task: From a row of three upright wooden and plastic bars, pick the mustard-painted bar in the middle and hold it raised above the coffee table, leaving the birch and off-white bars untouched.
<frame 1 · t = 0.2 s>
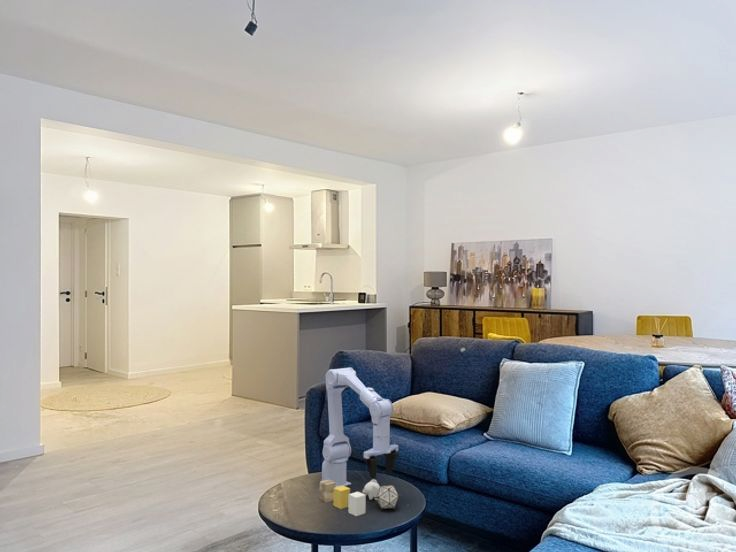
hand: (381, 475, 193), 10 cm above the table, fingers open, 7 cm apart
game die: (387, 509, 190), on the table
off-white bar: (356, 512, 186), on the table
birch bar: (327, 499, 198), on the table
elephant figurine: (372, 499, 199), on the table
mustard bar: (341, 506, 192), on the table
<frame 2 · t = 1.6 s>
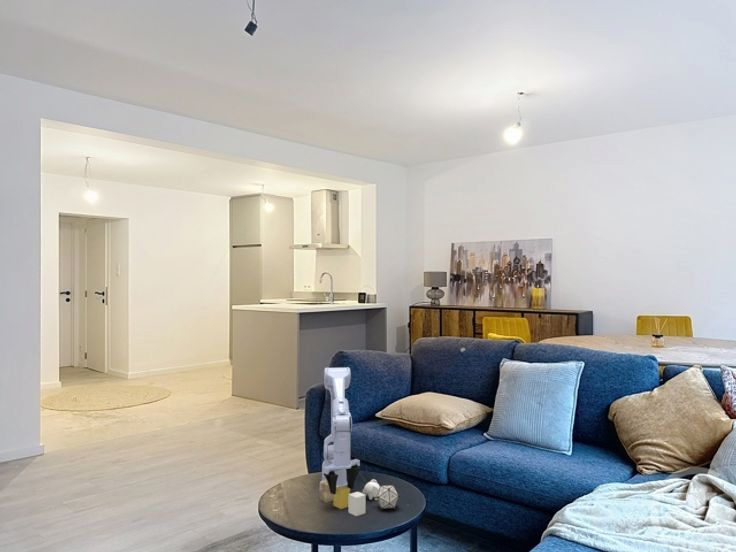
hand: (341, 490, 192), 5 cm above the table, fingers open, 7 cm apart
nothing on the table moved.
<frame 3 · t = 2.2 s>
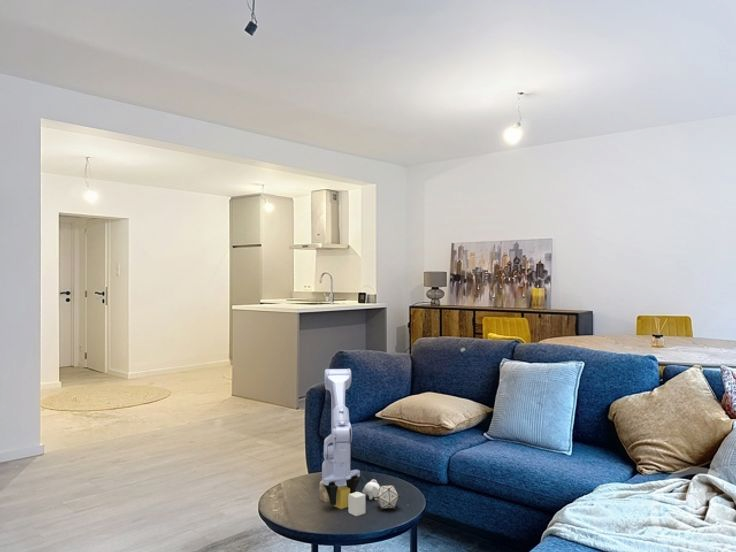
hand: (341, 501, 192), 1 cm above the table, fingers open, 7 cm apart
nothing on the table moved.
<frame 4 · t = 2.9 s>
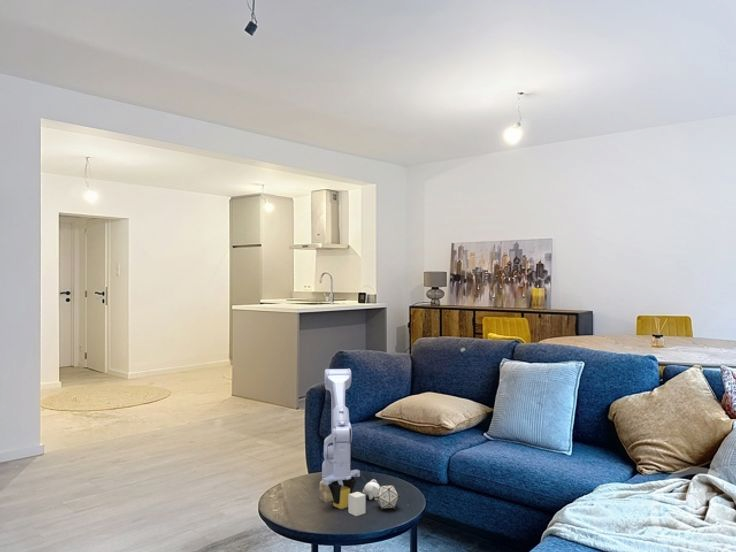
hand: (341, 501, 192), 1 cm above the table, fingers closed on mustard bar, 4 cm apart
mustard bar: (341, 505, 192), on the table, touching gripper
everything else where it was.
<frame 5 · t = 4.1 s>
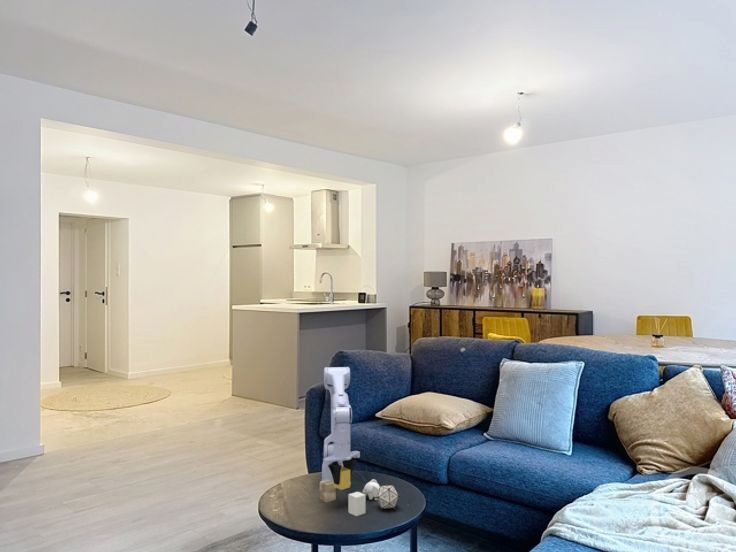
hand: (341, 482, 192), 8 cm above the table, fingers closed on mustard bar, 4 cm apart
mustard bar: (341, 487, 192), point 6 cm above the table, touching gripper
everything else where it was.
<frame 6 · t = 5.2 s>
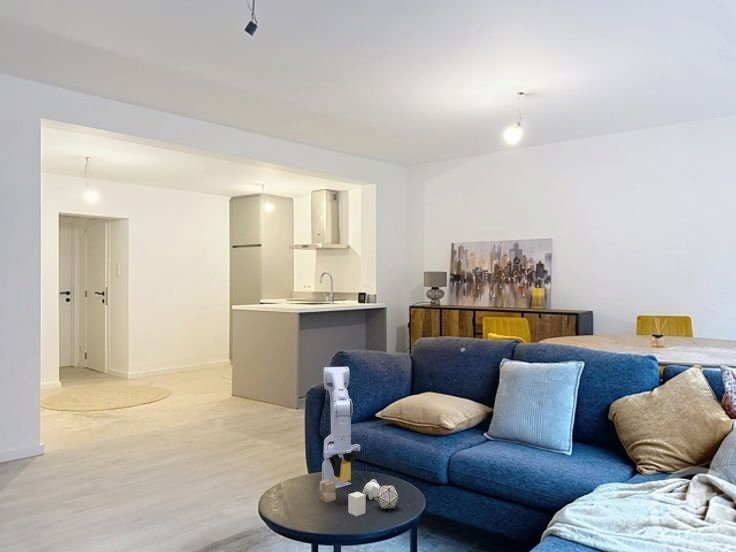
hand: (342, 475, 194), 10 cm above the table, fingers closed on mustard bar, 4 cm apart
mustard bar: (342, 479, 194), point 8 cm above the table, touching gripper
everything else where it was.
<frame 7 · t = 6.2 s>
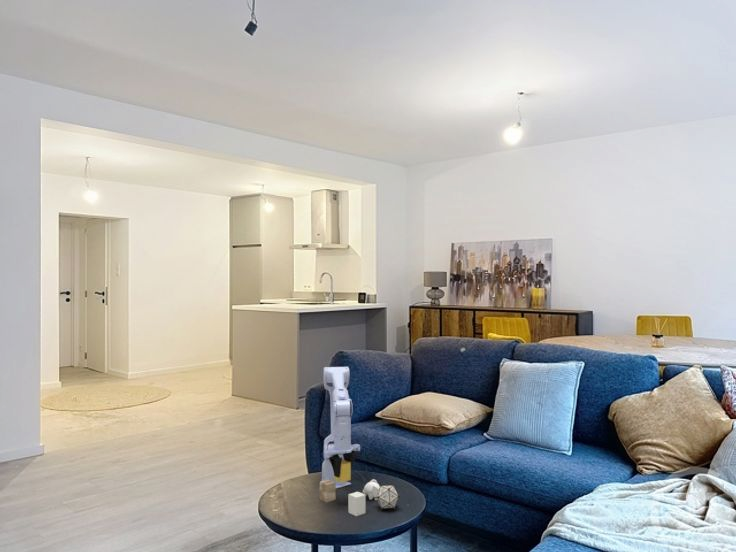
hand: (342, 475, 194), 10 cm above the table, fingers closed on mustard bar, 4 cm apart
mustard bar: (342, 479, 194), point 8 cm above the table, touching gripper
everything else where it was.
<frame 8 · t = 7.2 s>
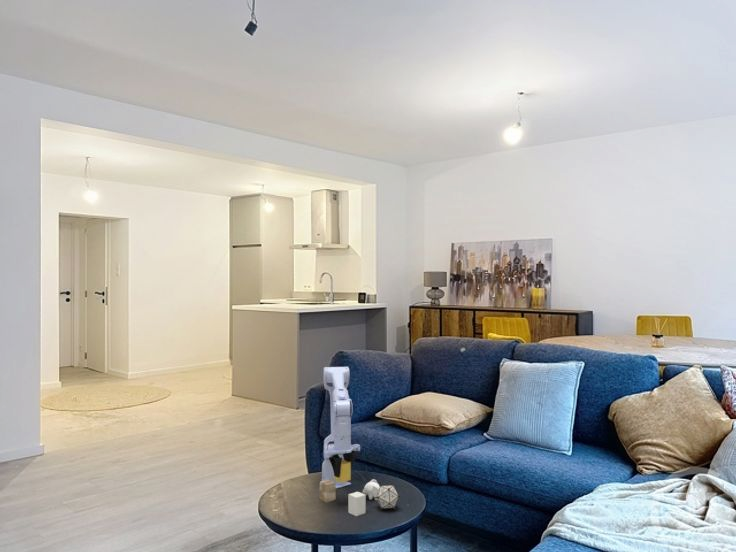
hand: (342, 475, 194), 10 cm above the table, fingers closed on mustard bar, 4 cm apart
mustard bar: (342, 479, 194), point 8 cm above the table, touching gripper
everything else where it was.
at the end: mustard bar point 8.3 cm above the table; birch bar moved 0.1 cm from its start; off-white bar moved 0.1 cm from its start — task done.
